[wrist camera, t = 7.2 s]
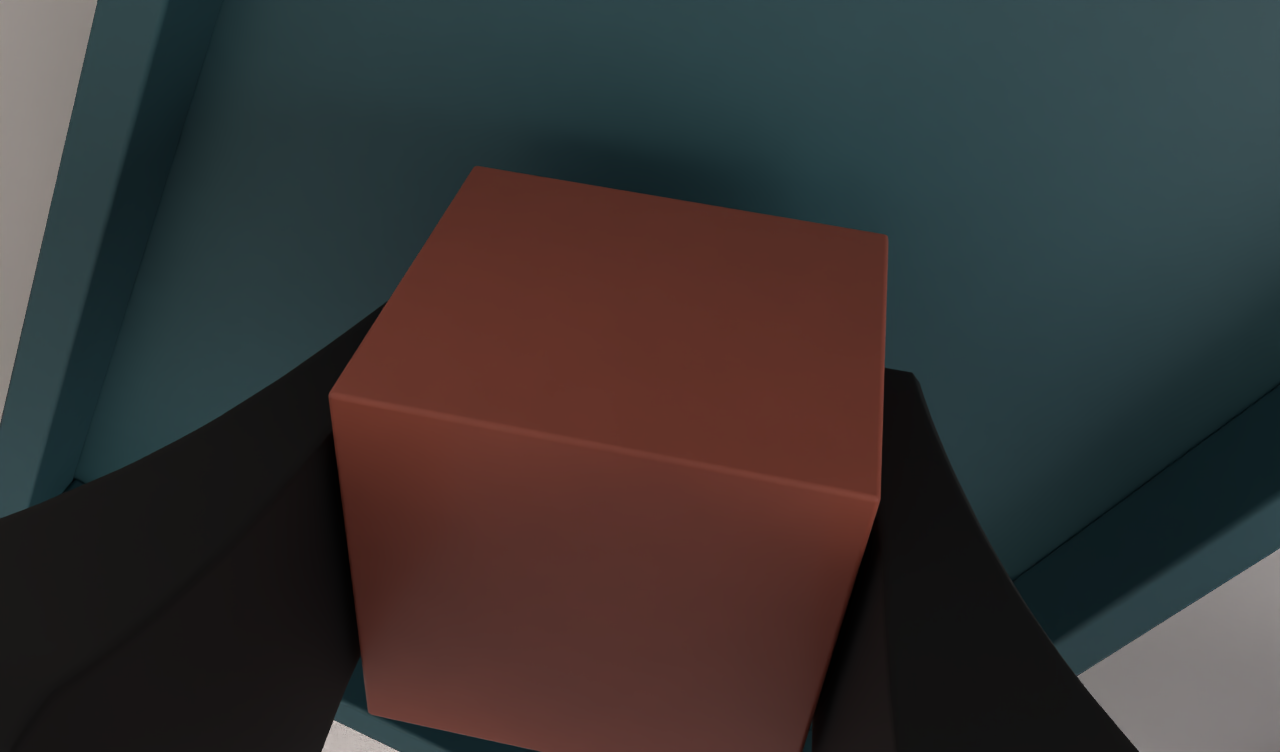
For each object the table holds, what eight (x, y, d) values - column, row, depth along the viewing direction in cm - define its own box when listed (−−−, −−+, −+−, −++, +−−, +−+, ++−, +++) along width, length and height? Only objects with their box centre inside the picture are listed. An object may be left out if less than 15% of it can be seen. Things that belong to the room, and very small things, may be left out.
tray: (1962, -97, 10) (2177, -12, 8) (731, 798, 22) (716, 905, 21) (560, -1339, 7) (456, -1581, 6) (50, 457, 20) (-30, 547, 18)
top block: (889, 233, 12) (882, 499, 9) (813, 527, 15) (786, 807, 11) (474, 162, 12) (325, 394, 9) (478, 462, 15) (366, 715, 12)
